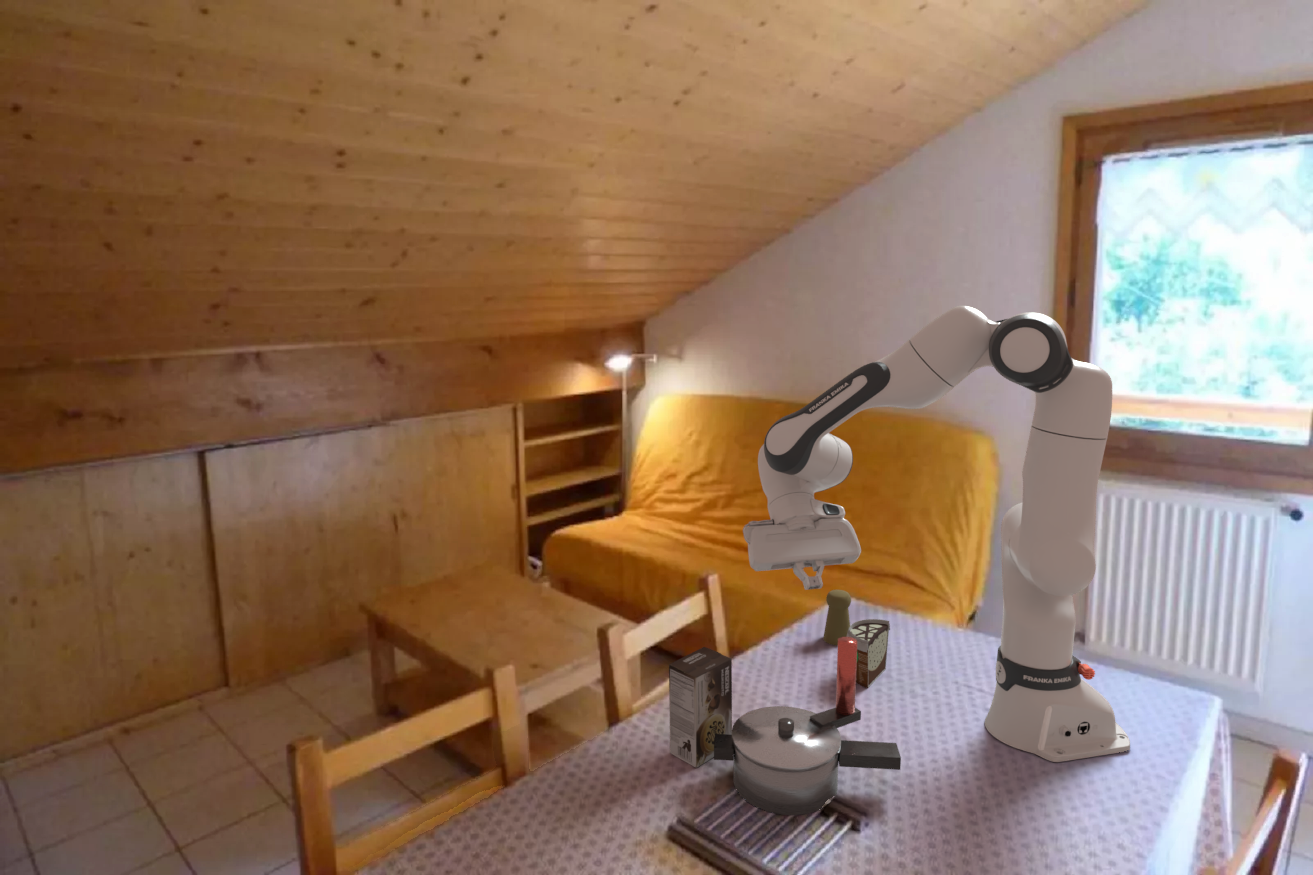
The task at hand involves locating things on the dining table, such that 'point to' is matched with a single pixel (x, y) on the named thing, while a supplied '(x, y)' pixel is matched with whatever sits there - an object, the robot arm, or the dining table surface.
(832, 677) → the dining table surface
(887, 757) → the pot
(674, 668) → the coffee box
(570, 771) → the dining table surface
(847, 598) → the cork
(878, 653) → the food container
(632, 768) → the dining table surface
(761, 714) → the lid
